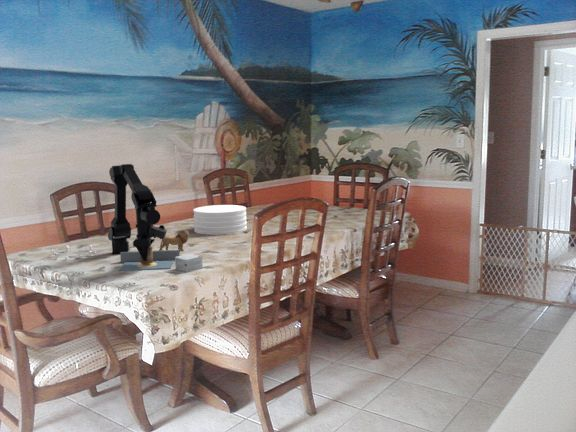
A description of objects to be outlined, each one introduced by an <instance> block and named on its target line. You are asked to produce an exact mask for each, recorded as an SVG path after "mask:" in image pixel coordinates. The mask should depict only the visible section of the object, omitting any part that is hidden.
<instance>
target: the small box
mask: <svg viewBox="0 0 576 432" xmlns="http://www.w3.org/2000/svg"><path fill="white" fill-rule="evenodd" d="M174 262H175V270H179V271H181V272H184V273H189V272H193V271H194V272H195V271H197V270H201V268H202V269H203V268H204V266H203V256H202V255H198V254H194V253H186V254H183V255H180V256H177V257H175V260H174Z"/></svg>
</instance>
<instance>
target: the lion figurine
mask: <svg viewBox="0 0 576 432" xmlns="http://www.w3.org/2000/svg"><path fill="white" fill-rule="evenodd" d="M189 237H190V233H189V230H187V229H183V230H181V231H180V233H178V234H177V235H176V236H171V237H170V236H165V238H164V239H161V242H160V247H159V250H158V251H163V250H164V249H163V248H165V250H169V246H170V245H172V246H177V247H178V248H177V250H179V251H181V252H184V251H185V249H183V248H184V244H186V243H187V242H188V240H189Z"/></svg>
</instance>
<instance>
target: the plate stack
mask: <svg viewBox="0 0 576 432" xmlns="http://www.w3.org/2000/svg"><path fill="white" fill-rule="evenodd" d="M192 212H193V213H194V214H193V227H194V229H193V230H194V232H195V233H196V234H200V235H201V234H202V235H208V236H209V235H211V236H212V235H213V236H214V235H219V236H220V235H221V236H222V235H231V234H232V235H233V234H236V233H237V234H238V233H241V232H245V231H247V230H248V226H247V225H248V224H247V223H248V222H247V207H246V206H244V205H236V204H213V205H203V206H198V207H195V208H193V209H192Z"/></svg>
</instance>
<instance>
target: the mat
mask: <svg viewBox="0 0 576 432" xmlns="http://www.w3.org/2000/svg"><path fill="white" fill-rule="evenodd" d="M174 262H175V260H163V261H153V263H149V264H141V263H140V261H139V262H123V264H121V266H120V267H119V268H118V269H117V272H126V271H127V272H128V271H151V270H152V271H153V270H169V269H170V270H171V269H172V266H173V264H174Z"/></svg>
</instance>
